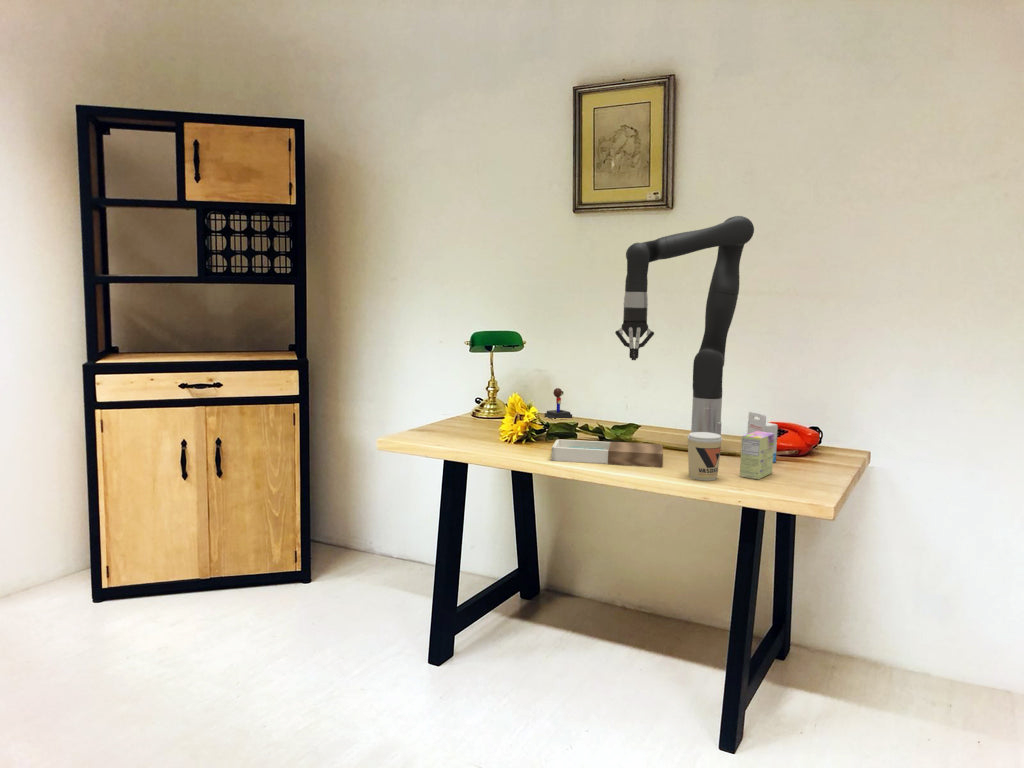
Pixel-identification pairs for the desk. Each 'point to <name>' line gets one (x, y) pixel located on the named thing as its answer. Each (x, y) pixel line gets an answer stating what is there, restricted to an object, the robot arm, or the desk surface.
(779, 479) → the desk surface
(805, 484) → the desk surface
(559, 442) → the tray
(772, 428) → the ink box
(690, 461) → the coffee cup
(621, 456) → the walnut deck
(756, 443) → the box
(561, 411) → the figurine
